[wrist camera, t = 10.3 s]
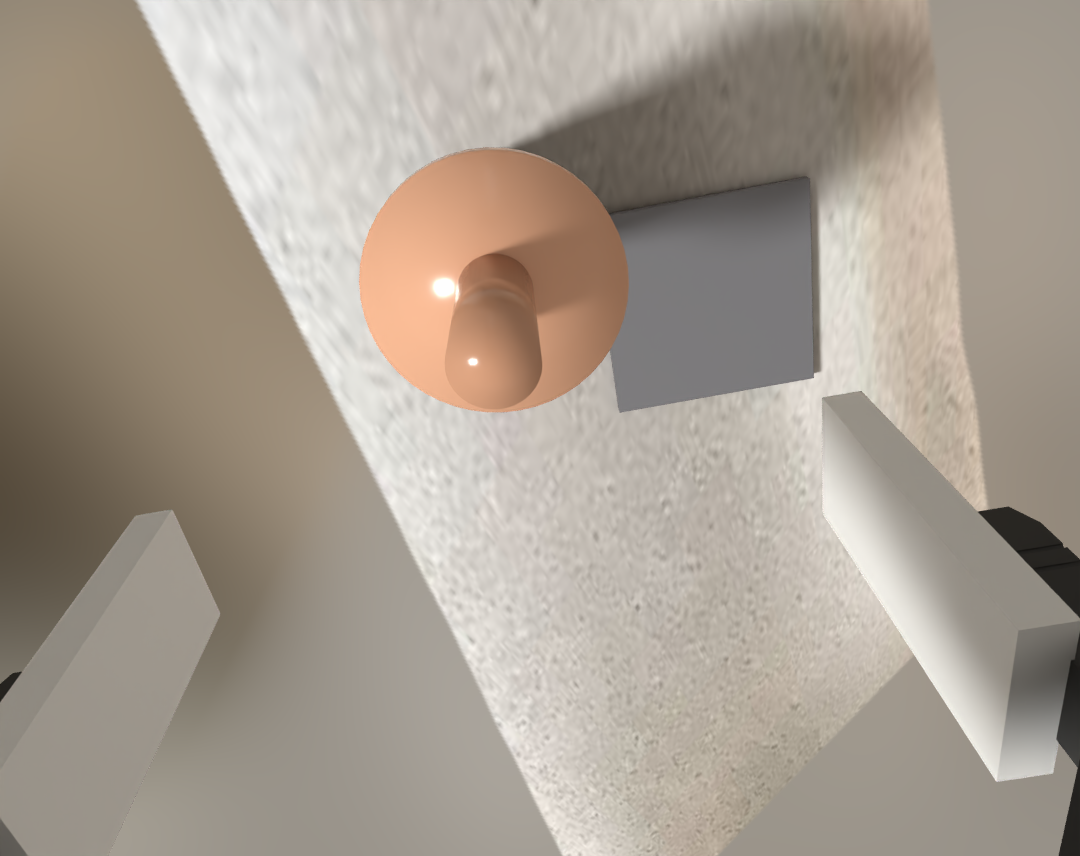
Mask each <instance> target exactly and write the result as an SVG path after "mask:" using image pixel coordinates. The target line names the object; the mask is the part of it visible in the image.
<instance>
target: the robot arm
mask: <svg viewBox="0 0 1080 856" xmlns="http://www.w3.org/2000/svg"><path fill="white" fill-rule="evenodd" d="M822 464H823V515H824V516H825V518H826V519H827V521H828V523H829V524H830V526H831V527H832V529H833V530H834V532H835V533H836V535H837V536H838V538H839V539H840V541H841V543H842V544H843V546H844V547H845V549H846V550H847V552H848V553H849V555H850V556H851V558H852V560H853V561H854V563H855V564H856V566H857V567H858V569H859V570H860V572H861V573H862V575H863V577H864V578H865V580H866V581H867V583H868V584H869V586H870V587H871V589H872V590H873V592H874V593H875V595H876V597H877V598H878V600H879V601H880V603H881V604H882V606H883V607H884V609H885V610H886V612H887V614H888V615H889V617H890V618H891V620H892V621H893V623H894V624H895V626H896V627H897V629H898V630H899V632H900V634H901V635H902V637H903V638H904V640H905V641H906V643H907V644H908V646H909V647H910V649H911V651H912V652H913V654H914V655H915V657H916V658H917V660H918V661H919V663H920V664H921V666H922V667H923V669H924V671H925V672H926V673H927V675H928V677H929V678H930V680H931V681H932V683H933V684H934V686H935V688H936V689H937V691H938V692H939V694H940V695H941V697H942V698H943V700H944V701H945V703H946V704H947V706H948V708H949V709H950V711H951V712H952V714H953V715H954V717H955V718H956V720H957V721H958V723H959V724H960V726H961V728H962V729H963V731H964V732H965V734H966V735H967V737H968V738H969V740H970V741H971V743H972V745H973V746H974V748H975V749H976V751H977V752H978V754H979V755H980V757H981V759H982V760H983V761H984V763H985V765H986V766H987V767H988V769H989V771H990V772H991V774H992V775H993V777H994V779H995V780H996V782H999V781H1006V780H1012V779H1019V778H1025V777H1032V776H1038V775H1045V774H1051V773H1053V770H1054V764H1055V759H1056V754H1057V749H1058V743H1059V744H1060V745H1061V746H1062V748H1063V749H1064V750H1065V751H1066V753H1067V754H1068V755H1069V757H1070V758H1071V759H1072V761H1073V762H1074V763H1075V765H1076V766H1077V767H1078V770H1077V774H1076V779H1075V784H1074V788H1073V793H1072V797H1071V802H1070V807H1069V811H1068V815H1067V821H1066V825H1065V830H1064V834H1063V839H1062V843H1061V847H1060V852H1059V856H1080V559H1079V558H1078V557H1077V556H1076V555H1075V554H1074V553H1072V552H1071V551H1070V550H1069V549H1068V548H1067V547H1066V548H1064V547H1063V543H1062V542H1061V541H1060V540H1059V539H1057V537H1055V536H1054V535H1053V534H1052V533H1051V532H1050V531H1049V530H1048V529H1047V528H1046V527H1045V526H1044V525H1043V524H1042V523H1040V522H1038V521H1036V520H1034V519H1032V518H1030V517H1028V516H1026V515H1024V514H1022V513H1020V512H1018V511H1016V510H1014V509H1012V508H1010V507H1004V508H997V509H992V510H985V511H979V512H977V511H976V510H975V509H974V508H973V507H972V506H971V504H970V503H969V502H968V501H967V500H966V499H965V498H964V497H963V496H962V495H961V494H960V493H959V492H958V491H957V490H956V489H955V488H954V487H953V486H952V485H951V484H950V483H949V482H948V481H947V480H946V478H945V477H944V476H943V475H942V474H941V473H940V472H939V471H938V470H937V469H936V468H935V467H934V466H933V465H932V464H931V463H930V462H929V461H928V460H927V459H926V458H925V457H924V456H923V455H922V454H921V453H920V451H919V450H918V449H917V448H916V447H915V446H914V445H913V444H912V443H911V442H910V441H909V440H908V439H907V438H906V437H905V436H904V435H903V434H902V433H901V432H900V431H899V430H898V429H897V428H896V427H895V425H894V424H893V423H892V422H891V421H890V420H889V419H888V418H887V417H886V416H885V415H884V414H883V413H882V412H881V411H880V410H879V409H878V408H877V407H876V406H875V405H874V404H873V403H872V402H871V401H870V399H869V398H868V397H867V396H866V395H865V394H864V393H863V392H862V391H858V392H852V393H847V394H841V395H835V396H829V397H823V398H822ZM219 616H220V612H219V610H218V607H217V605H216V603H215V601H214V599H213V597H212V594H211V592H210V590H209V588H208V586H207V584H206V582H205V579H204V577H203V575H202V573H201V571H200V568H199V566H198V564H197V562H196V560H195V558H194V555H193V553H192V551H191V549H190V547H189V545H188V543H187V541H186V538H185V536H184V534H183V532H182V530H181V527H180V526H179V523H178V521H177V519H176V517H175V514H174V512H173V510H166V511H160V512H155V513H149V514H143V515H137V516H135V517H134V519H133V520H132V521H131V523H130V524H129V525H128V527H127V528H126V530H125V531H124V533H123V534H122V535H121V537H120V538H119V539H118V541H117V542H116V544H115V545H114V546H113V548H112V549H111V551H110V552H109V553H108V555H107V556H106V557H105V559H104V560H103V561H102V563H101V564H100V566H99V567H98V568H97V570H96V571H95V573H94V574H93V575H92V577H91V578H90V579H89V581H88V582H87V583H86V585H85V586H84V588H83V589H82V591H81V592H80V593H79V595H78V596H77V597H76V599H75V600H74V601H73V603H72V604H71V605H70V607H69V608H68V610H67V611H66V612H65V614H64V615H63V617H62V618H61V619H60V621H59V622H58V623H57V625H56V626H55V628H54V629H53V630H52V632H51V633H50V634H49V636H48V637H47V639H46V640H45V642H44V643H43V644H42V645H41V647H40V648H39V650H38V651H37V653H36V654H35V655H34V656H33V658H32V659H31V661H30V662H29V663H28V665H27V666H26V668H25V669H24V670H23V672H17V673H13V674H11V675H10V676H9V677H8V678H7V679H6V680H4V681H3V682H2V683H1V684H0V856H108V855H109V853H110V851H111V848H112V846H113V844H114V842H115V840H116V838H117V836H118V833H119V831H120V829H121V827H122V825H123V823H124V820H125V818H126V816H127V814H128V812H129V810H130V808H131V805H132V803H133V801H134V799H135V797H136V795H137V793H138V790H139V788H140V786H141V784H142V782H143V780H144V777H145V775H146V773H147V771H148V769H149V767H150V765H151V762H152V760H153V758H154V756H155V754H156V752H157V749H158V747H159V745H160V743H161V741H162V739H163V737H164V734H165V732H166V730H167V728H168V726H169V723H170V722H171V719H172V717H173V715H174V713H175V711H176V709H177V707H178V704H179V702H180V700H181V698H182V696H183V693H184V691H185V689H186V687H187V685H188V683H189V681H190V679H191V676H192V674H193V672H194V670H195V668H196V665H197V663H198V661H199V659H200V657H201V655H202V653H203V650H204V648H205V646H206V644H207V642H208V640H209V638H210V635H211V633H212V631H213V629H214V627H215V625H216V622H217V620H218V618H219Z"/></svg>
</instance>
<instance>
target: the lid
mask: <svg viewBox="0 0 1080 856" xmlns="http://www.w3.org/2000/svg"><path fill="white" fill-rule="evenodd" d="M359 285H360V297H361V303H362V307H363V312H364V316H365V319H366V322H367V324H368V327H369V330H370V332H371V334H372V336H373V338H374V340H375V342H376V344H377V346H378V347H379V349H380V350H381V352H382V353H383V355H384V356H385V358H386V359H387V360H388V362H389V363H390V364H391V365H392V366H393V367H394V368H395V369H396V370H397V372H398V373H399V374H401V375H402V376H403V377H404V378H405V379H406V380H407V381H409V382H410V383H411V384H412V385H414V386H415V387H417V388H418V389H420V390H421V391H423V392H424V393H426V394H428V395H430V396H432V397H434V398H436V399H438V400H440V401H442V402H445V403H448V404H450V405H453V406H456V407H460V408H464V409H468V410H474V411H482V412H509V411H518V410H523V409H527V408H531V407H536V406H538V405H541V404H544V403H546V402H549V401H552V400H554V399H556V398H557V397H559V396H561V395H563V394H565V393H567V392H568V391H570V390H571V389H573V388H574V387H576V386H577V385H579V384H580V383H581V382H582V381H583V380H584V379H586V378H587V377H588V376H589V375H590V374H591V373H592V372H593V371H594V370H595V369H596V368H597V366H598V365H599V364H600V363H601V362H602V361H603V359H604V358H605V356H606V355H607V353H608V352H609V350H610V349H611V347H612V345H613V343H614V341H615V339H616V337H617V335H618V333H619V331H620V328H621V325H622V322H623V320H624V316H625V311H626V307H627V302H628V290H629V277H628V265H627V260H626V255H625V250H624V247H623V244H622V241H621V238H620V235H619V233H618V231H617V229H616V227H615V225H614V223H613V221H612V219H611V217H610V215H609V213H608V212H607V210H606V209H605V207H604V206H603V204H602V203H601V202H600V200H599V199H598V197H597V196H596V195H595V194H594V193H593V192H592V191H591V190H590V189H589V187H588V186H587V185H586V184H585V183H583V182H582V181H581V180H580V179H579V178H577V177H576V176H575V175H574V174H573V173H571V172H570V171H568V170H567V169H565V168H563V167H562V166H560V165H559V164H557V163H555V162H553V161H550V160H548V159H546V158H544V157H542V156H539V155H536V154H532V153H529V152H526V151H522V150H516V149H509V148H494V147H484V148H476V149H468V150H464V151H460V152H456V153H453V154H449V155H447V156H444V157H442V158H440V159H437V160H435V161H432V162H431V163H429V164H427V165H426V166H424V167H422V168H421V169H419V170H417V171H416V172H415V173H414V174H412V175H411V176H410V177H409V178H407V179H406V180H405V181H404V182H403V183H402V184H401V185H400V186H399V187H398V188H397V189H396V190H395V191H394V192H393V193H392V194H391V195H390V197H389V198H388V200H387V201H386V203H385V204H384V205H383V207H382V208H381V210H380V211H379V213H378V214H377V216H376V218H375V220H374V222H373V224H372V226H371V228H370V230H369V233H368V236H367V239H366V242H365V244H364V247H363V253H362V258H361V263H360V277H359Z"/></svg>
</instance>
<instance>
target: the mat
mask: <svg viewBox="0 0 1080 856" xmlns="http://www.w3.org/2000/svg"><path fill="white" fill-rule="evenodd" d="M609 215H610V217H611V219H612V221H613V223H614V225H615V227H616V229H617V231H618V233H619V235H620V238H621V241H622V244H623V247H624V250H625V255H626V260H627V265H628V277H629V290H628V302H627V307H626V311H625V316H624V320H623V322H622V325H621V328H620V331H619V333H618V335H617V337H616V339H615V341H614V343H613V345H612V347H611V349H610V353H611V360H612V367H613V374H614V381H615V387H616V394H617V401H618V408H619V412H626V411H631V410H637V409H643V408H648V407H654V406H659V405H665V404H671V403H676V402H682V401H687V400H693V399H699V398H704V397H710V396H715V395H721V394H727V393H732V392H738V391H743V390H749V389H755V388H760V387H766V386H771V385H777V384H783V383H788V382H794V381H799V380H805V379H811V378H814V365H813V315H812V265H811V216H810V178H808V177H802V178H796V179H791V180H786V181H780V182H775V183H770V184H765V185H759V186H754V187H749V188H743V189H738V190H733V191H727V192H722V193H717V194H712V195H706V196H701V197H696V198H690V199H685V200H680V201H674V202H669V203H664V204H658V205H653V206H648V207H643V208H637V209H632V210H627V211H621V212H616V213H611V214H609Z"/></svg>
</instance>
